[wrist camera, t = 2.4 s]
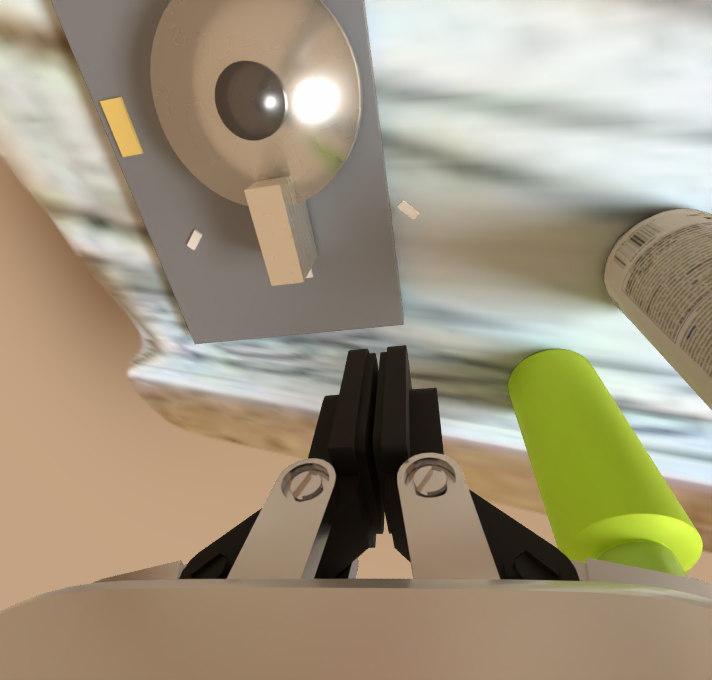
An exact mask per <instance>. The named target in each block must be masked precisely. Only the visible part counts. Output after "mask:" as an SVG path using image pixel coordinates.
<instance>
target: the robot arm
mask: <svg viewBox="0 0 712 680" xmlns="http://www.w3.org/2000/svg"><path fill="white" fill-rule="evenodd" d="M384 512H385V515H386V521H387V525H388V531H389V533H391V534H392V536H393V541H394V546H395V548H396V549H397V550H398V551H399V552H400V553H401V554H402V555H403V556H404V557H405V558H406V559H407V560H409V561H410V562H411V567H412V573H413V579H356V575H357V571H358V557H359V556H360V555H361V554H362V553H363V552H364V551H365V550H366V549H368V548H375V542H376V534H383V531H384ZM0 680H712V584H710V583H708V582H704V581H702V580H698V579H694V578H689V577H684V576H679V575H673V574H668V573H663V572H658V571H653V570H648V569H643V568H638V567H632V566H627V565H622V564H617V563H612V562H607V561H602V560H596V559H591V558H586V563H584V562H579V561H574V560H569V558H568V557H567V556H566V555H565V554H563V553H562V552H561V551H560V550H559V549H557V548H556V547H554V546H553V545H551V544H550V543H548V542H547V541H545V540H544V539H542V538H541V537H539V536H538V535H536V534H535V533H534V532H532V531H531V530H529V529H528V528H526V527H525V526H523V525H522V524H520V523H519V522H517V521H516V520H514V519H513V518H511V517H510V516H508V515H506V514H505V513H503V512H502V511H501V510H499V509H498V508H496V507H495V506H493V505H492V504H490V503H489V502H487V501H486V500H484V499H483V498H481V497H480V496H478V495H477V494H475V493H474V492H472V491H471V490H469V489H468V486H467V483H466V480H465V478H464V475H463V472H462V470H461V468H460V467H459V465H458V464H457V463H456V462H455V461H454V460H453V459H452V458H449V457H447V456H445V455H444V453H443V443H442V434H441V425H440V415H439V406H438V396H437V388H427V389H413V390H412V386H411V378H410V370H409V362H408V353H407V347H406V345H404V346H393V347H387V352H381V353H380V363H379V370H378V364H377V358H376V354H375V353H370V354H369V351H368V349H360V350H350V351H349V352H348V356H347V361H346V365H345V370H344V375H343V379H342V384H341V389H340V393H339V395H330V396H325V397H324V400H323V403H322V407H321V411H320V415H319V418H318V422H317V426H316V430H315V434H314V438H313V441H312V445H311V449H310V453H309V457H308V459H304V460H300V461H297V462H295V463H293V464H291V465H289V466H288V467H287V468H286V469H285V470H283V471H282V473H281V474H280V475H279V477H278V478H277V480H276V482H275V484H274V486H273V488H272V490H271V492H270V494H269V496H268V498H267V500H266V502H265V504H264V506H263V508H261V509H260V510H259V511H257V512H256V513H254V514H253V515H252V516H250V517H249V518H247V519H246V520H245V521H243V522H242V523H240V524H239V525H237V526H236V527H235V528H233V529H232V530H230V531H229V532H227V533H226V534H225V535H223V536H222V537H221V538H219V539H218V540H216V541H215V542H213V543H212V544H210V545H209V546H208V547H206V548H205V549H203V550H202V551H201V552H199V553H198V554H197V555H196V556H195V557H193V558H192V559H191V560H190V561H189V563H188V564H185V565H183V563H182V561H181V560H180V561H176V562H172V563H168V564H163V565H159V566H155V567H151V568H147V569H143V570H138V571H134V572H130V573H125V574H121V575H117V576H113V577H109V578H104V579H101V580H99V581H96V582H94V583H91V584H85V585H79V586H73V587H68V588H64V589H60V590H56V591H52V592H48V593H45V594H42V595H39V596H36V597H33V598H30V599H28V600H25V601H23V602H20V603H17V604H15V605H13V606H11V607H8V608H7V609H4V610H2V611H0Z"/></svg>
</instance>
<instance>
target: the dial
mask: <svg viewBox="0 0 712 680" xmlns="http://www.w3.org/2000/svg"><path fill="white" fill-rule="evenodd" d="M150 77H151V89H152V94H153V100H154V105H155V108H156V112H157V115H158V118H159V121H160V124H161V126H162V129H163V131H164V133H165V135H166V137H167V139H168V141H169V143H170V145H171V147H172V148H173V150H174V151H175V153H176V154H177V156H178V157H179V159H180V160H181V161H182V163H183V164H184V165H185V166H186V167H187V169H188V170H189V171H190V172H191V173H192V174H193V175H194V176H195V177H196V178H197V179H198V180H199V181H200V182H202V183H203V184H204V185H205V186H207V187H208V188H209V189H211V190H212V191H214V192H215V193H217V194H219V195H220V196H222V197H224V198H226V199H228V200H231V201H233V202H236V203H239V204H242V205H245V206H249V210H250V213H251V216H252V220H253V223H254V227H255V230H256V234H257V237H258V241H259V244H260V248H261V251H262V255H263V258H264V261H265V265H266V268H267V272H268V275H269V279H270V282H271V286H276V285H285V284H293V283H302V282H304V281H305V279H306V277H307V275H308V273H309V271H310V269H311V267H312V265H313V263H314V262H315V260H316V258H317V256H318V255H317V251H316V246H315V242H314V237H313V233H312V228H311V224H310V219H309V215H308V210H307V206H306V201H305V200H306V199H308V198H310V197H312V196H314V195H315V194H316V193H318V192H319V191H320V190H322V189H323V188H324V187H325V186H326V185H327V184H328V183H329V182H330V181H331V180H332V179H333V178H334V177H335V175H336V174H337V173H338V171H339V170H340V169H341V167H342V166H343V165H344V163H345V162H346V160H347V159H348V157H349V155H350V153H351V151H352V149H353V147H354V144H355V142H356V140H357V137H358V133H359V129H360V126H361V119H362V113H363V86H362V78H361V73H360V68H359V64H358V61H357V57H356V54H355V51H354V49H353V46H352V44H351V42H350V40H349V37H348V35H347V34H346V32H345V30H344V29H343V27H342V25H341V24H340V22H339V21H338V19H337V18H336V17H335V15H334V14H333V13H332V12H331V10H330V9H329V8H328V7H327V6H326V5H325V4H324V3H323V2H322V1H321V0H171V1H170V3H169V4H168V6H167V7H166V9H165V11H164V12H163V15H162V17H161V19H160V22H159V24H158V26H157V30H156V33H155V37H154V40H153V46H152V52H151V65H150Z"/></svg>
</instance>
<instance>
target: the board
mask: <svg viewBox="0 0 712 680" xmlns="http://www.w3.org/2000/svg"><path fill="white" fill-rule="evenodd" d="M170 1H171V0H51V2H52V4H53V7H54V9H55V11H56V14H57V16H58V19H59V21H60V23H61V26H62V28H63V30H64V33H65V35H66V38H67V40H68V42H69V45H70V47H71V50H72V52H73V54H74V57H75V59H76V62H77V64H78V66H79V69H80V71H81V73H82V76H83V78H84V81H85V83H86V85H87V88H88V90H89V93H90V95H91V97H92V100H93V102H94V104H95V107H96V109H97V112H98V114H99V116H100V119H101V121H102V124H103V126H104V128H105V131H106V133H107V136H108V138H109V140H110V143H111V145H112V147H113V150H114V152H115V155H116V157H117V159H118V162H119V164H120V167H121V169H122V171H123V174H124V176H125V178H126V181H127V183H128V186H129V188H130V190H131V193H132V195H133V198H134V200H135V202H136V205H137V207H138V210H139V212H140V214H141V217H142V219H143V221H144V224H145V226H146V229H147V231H148V233H149V236H150V238H151V241H152V243H153V245H154V248H155V250H156V252H157V255H158V257H159V260H160V262H161V264H162V267H163V269H164V272H165V274H166V276H167V279H168V281H169V284H170V286H171V288H172V291H173V293H174V295H175V298H176V300H177V303H178V305H179V307H180V310H181V312H182V315H183V317H184V319H185V322H186V324H187V326H188V329H189V331H190V334H191V336H192V338H193V341H194V343H195V344H202V343H213V342H223V341H234V340H245V339H255V338H266V337H277V336H287V335H298V334H309V333H319V332H330V331H341V330H351V329H362V328H373V327H383V326H394V325H403V308H402V300H401V292H400V284H399V276H398V268H397V260H396V252H395V244H394V235H393V227H392V219H391V211H390V203H389V195H388V187H387V179H386V171H385V163H384V155H383V147H382V139H381V131H380V123H379V115H378V107H377V99H376V91H375V83H374V75H373V67H372V59H371V50H370V42H369V34H368V26H367V18H366V10H365V2H364V0H321V1H322V2H323V3H324V4H325V5H326V6H327V7H328V8H329V9H330V10H331V12H332V13H333V14H334V15H335V17H336V18H337V19H338V21H339V22H340V24H341V25H342V27H343V29H344V30H345V32H346V34H347V35H348V37H349V40H350V42H351V44H352V46H353V49H354V51H355V54H356V57H357V61H358V64H359V68H360V73H361V78H362V86H363V113H362V119H361V126H360V129H359V133H358V137H357V140H356V142H355V144H354V147H353V149H352V151H351V153H350V155H349V157H348V159H347V160H346V162H345V163H344V165H343V166H342V167H341V169H340V170H339V171H338V173H337V174H336V175H335V177H334V178H333V179H332V180H331V181H330V182H329V183H328V184H327V185H326V186H325V187H324V188H323V189H322V190H320V191H319V192H318V193H316V194H315V195H314V196H312V197H310V198H308V199H306V200H305V201H306V206H307V210H308V215H309V219H310V224H311V228H312V233H313V237H314V242H315V246H316V251H317V255H318V256H317V258H316V260H315V262H314V263H313V265H312V267H311V269H310V271H309V273H308V275H307V277H306V279H305V281H304V282H302V283H293V284H285V285H276V286H271V282H270V279H269V275H268V272H267V268H266V265H265V261H264V258H263V255H262V251H261V248H260V244H259V241H258V237H257V234H256V230H255V227H254V223H253V220H252V216H251V213H250V210H249V206H245V205H242V204H239V203H236V202H233V201H231V200H228V199H226V198H224V197H222V196H220V195H219V194H217V193H215V192H214V191H212V190H211V189H209V188H208V187H207V186H205V185H204V184H203V183H202V182H200V181H199V180H198V179H197V178H196V177H195V176H194V175H193V174H192V173H191V172H190V171H189V170H188V169H187V167H186V166H185V165H184V164H183V163H182V161H181V160H180V159H179V157H178V156H177V154H176V153H175V151H174V150H173V148H172V147H171V145H170V143H169V141H168V139H167V137H166V135H165V133H164V131H163V129H162V126H161V124H160V121H159V118H158V115H157V112H156V108H155V105H154V100H153V94H152V89H151V77H150V65H151V52H152V46H153V40H154V37H155V33H156V30H157V26H158V24H159V22H160V19H161V17H162V15H163V12H164V11H165V9H166V7H167V6H168V4H169V3H170ZM397 208H398V209H400V210H401V211H402V212H404V213H405V214H406V215H407V216H409V217H410V218H411V219H413V220H415V219H416V217H417V216H418V215H419V214H420V212H418V211H417V210H416V209H414V208H413V207H412V206H411V205H409V204H408V203H407V202H405V201H404V200H402V201H401V203H400V204H399V205H398V207H397Z"/></svg>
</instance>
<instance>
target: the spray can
mask: <svg viewBox="0 0 712 680" xmlns="http://www.w3.org/2000/svg"><path fill="white" fill-rule="evenodd" d="M604 283H605V286H606V289H607V292H608V294H609V296H610V298H611V299H612V301H613V302H614V303H615V305H616V306H617V307H618V308H619V309H620V310H621V311H622V312H623V313H624V314H625V315H626V317H627V318H628V319H629V320H630V321H631V322H632V323H633V324H634V325H635V326H636V327H637V328H638V330H639V331H640V332H641V333H642V334H643V335H644V336H645V337H646V338H647V339H648V341H649V342H650V343H651V344H652V345H653V346H654V347H655V348H656V349H657V350H658V351H659V353H660V354H661V355H662V356H663V357H664V358H665V359H666V360H667V361H668V363H669V364H670V365H671V366H672V367H673V368H674V369H675V370H676V371H677V372H678V373H679V374H680V376H681V377H682V378H683V379H684V380H685V381H686V382H687V383H688V384H689V386H690V387H691V388H692V389H693V390H694V391H695V392H696V393H697V394H698V395H699V397H700V398H701V399H702V400H703V401H704V402H705V403H706V404H707V405H708V406H709V408H710V409H711V410H712V214H710V213H707V212H703V211H700V210H693V209H674V210H667V211H664V212H661V213H658V214H656V215H654V216H652V217H650V218H647V219H645V220H642V221H640V222H639V223H637V224H636V225H634V226H633V227H631V228H630V229H629V230H628V231H627V232H625V233H624V234H623V235H622V236H621V237H619V238H618V240H617V242H616V243H615V245H614V247H613V249H612V251H611V253H610V255H609V256H608V259H607V262H606V265H605V272H604Z"/></svg>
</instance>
